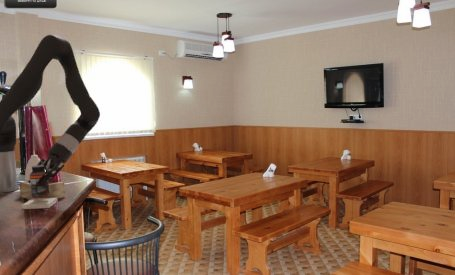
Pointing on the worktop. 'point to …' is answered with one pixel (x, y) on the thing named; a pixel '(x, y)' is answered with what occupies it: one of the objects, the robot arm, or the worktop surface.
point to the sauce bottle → (32, 162)
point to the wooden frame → (54, 190)
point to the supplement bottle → (34, 178)
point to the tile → (39, 203)
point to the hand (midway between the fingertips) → (34, 184)
